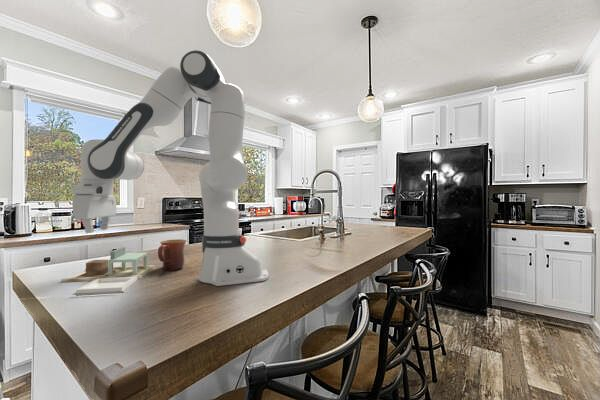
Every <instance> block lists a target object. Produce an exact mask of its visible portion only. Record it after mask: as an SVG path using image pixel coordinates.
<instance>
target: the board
mask: <svg viewBox="0 0 600 400" xmlns="http://www.w3.org/2000/svg"><path fill="white" fill-rule="evenodd" d="M155 267H156V265H154V264H153V265H148V269H144V265H137V275H133V265H132V266H127V265H126V270H122V266H113V276H108V273H107V274H105V275H98V276H86V268H85V269H84V271H83V272H80V273H78V274H76V275H74V276H70V277H67V278H66V277H65V278H61V280H60V282H61V283H73V282H92V281H94V280H95V279H97V278H114V277H135V276H137V279H142V278H143V277H145V275H147V274H148V273H149V272H151V271H152V270H154V269H155Z"/></svg>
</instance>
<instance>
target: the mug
mask: <svg viewBox="0 0 600 400" xmlns="http://www.w3.org/2000/svg"><path fill="white" fill-rule="evenodd" d="M159 243H160V246H159V247H157V248H158V249H157V257H158V259H159V261H160V262H162V269H163V270H165V271H167V272H168V271H169V272H170V271H173V272H174V271H178V270H182V269H183V268H184V265H185V246H186V243H187V239H182V238H181V239H178V238H177V239H176V238H175V239H166V240H161V241H160V242H159Z"/></svg>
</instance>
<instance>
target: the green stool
mask: <svg viewBox="0 0 600 400" xmlns="http://www.w3.org/2000/svg"><path fill="white" fill-rule="evenodd" d="M148 257H149V256H148V252H130V253H127V252H126V247H123V246H122V247H119V248H117V249H114V250H111V251H110V259H107V260H108V276H113V267H114V263H121V267H122V270H126V266H127V263H132V266H133V275H137V266H138V262H139V260H142V259H143V266H144V269H148V266H149V265H148V260H149V259H148Z"/></svg>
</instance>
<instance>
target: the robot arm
mask: <svg viewBox="0 0 600 400" xmlns="http://www.w3.org/2000/svg"><path fill="white" fill-rule="evenodd" d="M179 64H180V65H179V68H178V67H175V66H170V67H168V68H166V69H165V70H164V71H163V72H162V73H161V74H160V75H159V76H158V77H157V79H155V81H154V82H153V83H152V84H151V86H150V88H149V90H148V91H147V92H146V94H145V95H144V97H143V98H142V99H141V100H140V101H139V102H138V103H136V104H135V105H133V106H132V107H131V108H130V109H129V110H128V111H127V112H126V114H125V115H124V116H123V117H122V118H121V119H120V121H119V122H118V123H117V124H116V126H115V127H114V128H113V129H112V131H110V133H108V135H107V137H105V139H90V140H87V141H85V142H84V143H83V145H82V147H81V151H80V169H81V176H80V183H78V184H76V185H75V186H72V187H71V194H72V195H73V197H72V215H73V217H74V219H75V220H82V224H83V227H84V232H85V234H92V233H94V232H95V227H94V226H93V222H94V221H93V219H95V218H96V219H97V218H101V224H99V225H100V230H102V231H103V230H105V231H106V230H108V229H109V223H110V220H111V217H112V216H113V217H114V216H116V215H117V202H116V200H117V199H116V196H115V195H114V180H123V181H124V180H127V181H130V180H135V179H138V178H139V177H141V175H142V174H143V172H144V169H145V163H144V161H143V159H142V157H141V156H140V155H138V154H136V153H134V152H131V151H129V150H130V148H131V147H132V146H133V145H134V143H135V142H136V141H137V140H138V138H139V137H140V136H141V135H142V134H143V132H145V131H146V130H148V129H150V128H154V127H163V126H164V127H165V126H169V125H170V124H172V123H174V121H175V120H176V119H177V118H178V117H179V115H180V114H181V112H182V110H183V109H184V107H185V106H186V104H187V102H188V101H189V100H190V99H193V98H195V100H196V101H198V102H202V103H204V104H205V103H206V104H209V105H210V114H209V123H208V133H207V141H208V145H209V162H207V163H205V164H204V165H203V166H202V167H201V170H200V172H199V175H198V181H199V184H200V193H201V201H202V205H203V235H202V239H201V250H202V260H201V261H202V262H201V267H200V272H199V275H198V281H199V282H202V283H205V284H211V285H213V286H217V287H218V286H219V287H221V286H228V285H238V284H239V285H240V284H246V283H257V282H264V281H266V280H267V279H268V278H269V272H268V270H267V269H266V268H263V264H262V263H263V262H262V260H261V257H260V256H259V255H258V254H257V253H256V252H254V251H253V250H252V249H250V248H249V247H248V246H246V242H247V238H246V237H245V236H244V235H243V234H241V233H239V232H240V230H239V228H240V227H239V225H240V222H239V218H240V217H239V215H240V212H239V208H238V206H237V204H236V199H235V191H237V190H239V189H240V188H242V187H243V186H244V185H245V184H246V182H247V180H248V177H249V175H248V173H249V172H248V168H247V165H246V164H245V159H244V150H243V139H244V138H243V137H244V126H245V115H246V114H245V113H246V111H245V109H246V107H245V96H244V92H243V91H242V89H241V88H240V87H239V86H237V85H235V84H233V83H227V81H226V80H225V77H224V76H223V74H222V72H221V70H220V69H219V67H218V66H217V65H216V63H215V62H214V60H213V59H212V58H211V57H210V56H209V55H208V54H207V53H205V52H203V51H202V50H201V51H200V50H197V49H196V50H190V51H188V52H187V53H185V54H184V55H183V56H182V58H181V60H180V63H179Z"/></svg>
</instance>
